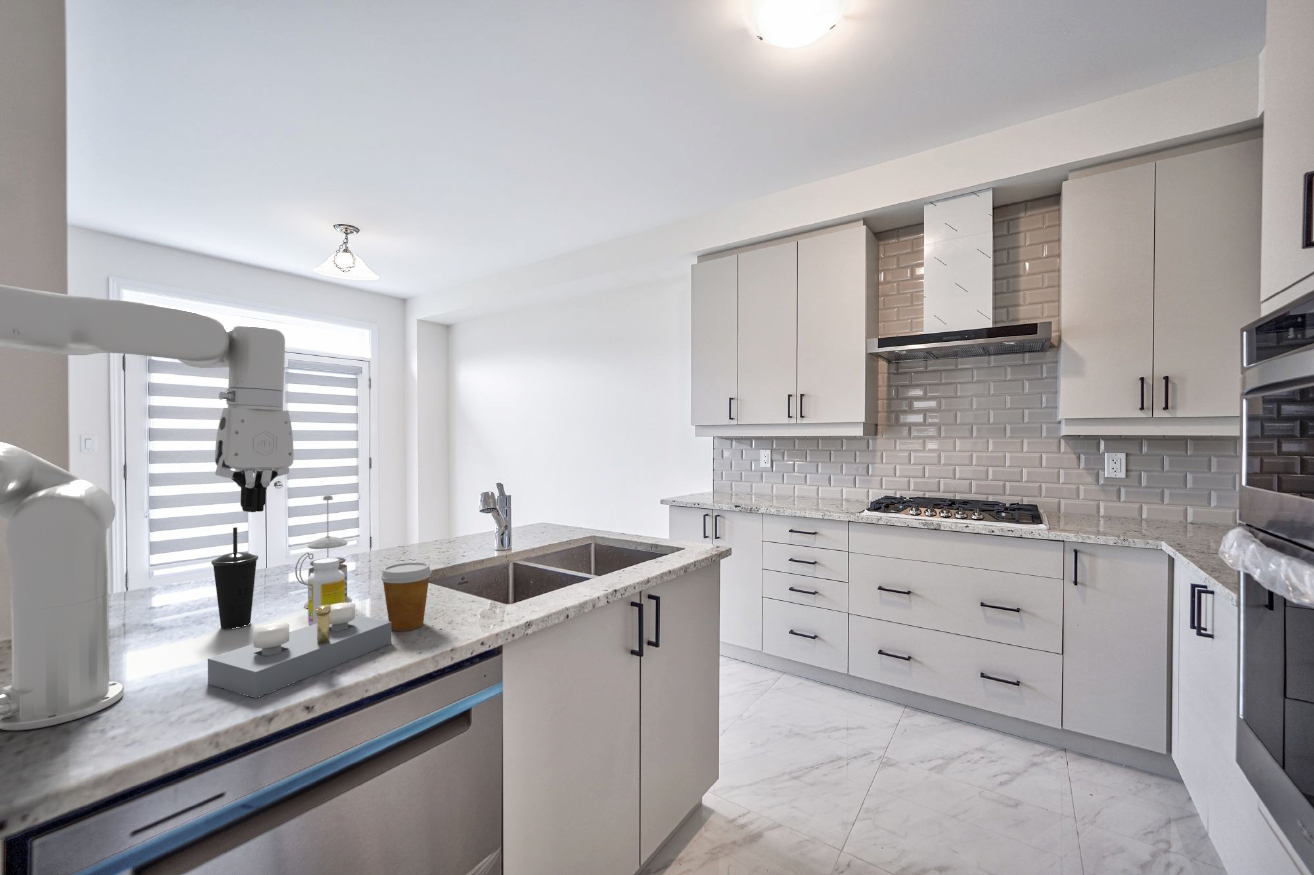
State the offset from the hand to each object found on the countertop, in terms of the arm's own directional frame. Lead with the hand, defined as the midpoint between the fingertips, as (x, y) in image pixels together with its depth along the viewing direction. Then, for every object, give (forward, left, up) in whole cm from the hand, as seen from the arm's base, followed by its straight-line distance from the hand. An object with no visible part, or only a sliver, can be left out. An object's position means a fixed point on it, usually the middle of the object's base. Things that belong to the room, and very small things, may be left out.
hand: (252, 510), depth 94 cm
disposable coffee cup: (+25, -7, -27) cm, 37 cm away
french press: (+28, +22, -27) cm, 45 cm away
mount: (+5, -6, -26) cm, 27 cm away
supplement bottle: (+20, +10, -27) cm, 35 cm away
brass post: (+5, -10, -22) cm, 25 cm away
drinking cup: (+11, +25, -27) cm, 38 cm away
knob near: (-1, -6, -25) cm, 26 cm away
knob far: (+11, -6, -25) cm, 28 cm away
